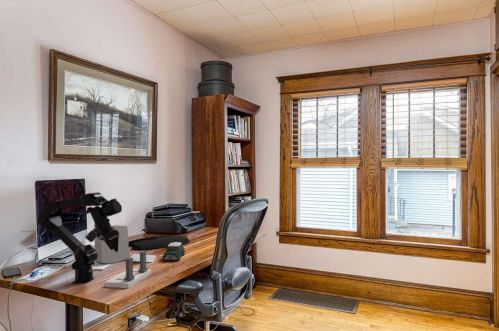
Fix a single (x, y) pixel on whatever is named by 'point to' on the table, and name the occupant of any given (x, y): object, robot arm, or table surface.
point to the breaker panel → (121, 283)
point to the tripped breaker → (129, 269)
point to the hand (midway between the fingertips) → (114, 250)
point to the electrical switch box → (110, 255)
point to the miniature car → (174, 251)
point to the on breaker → (143, 262)
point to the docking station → (156, 242)
